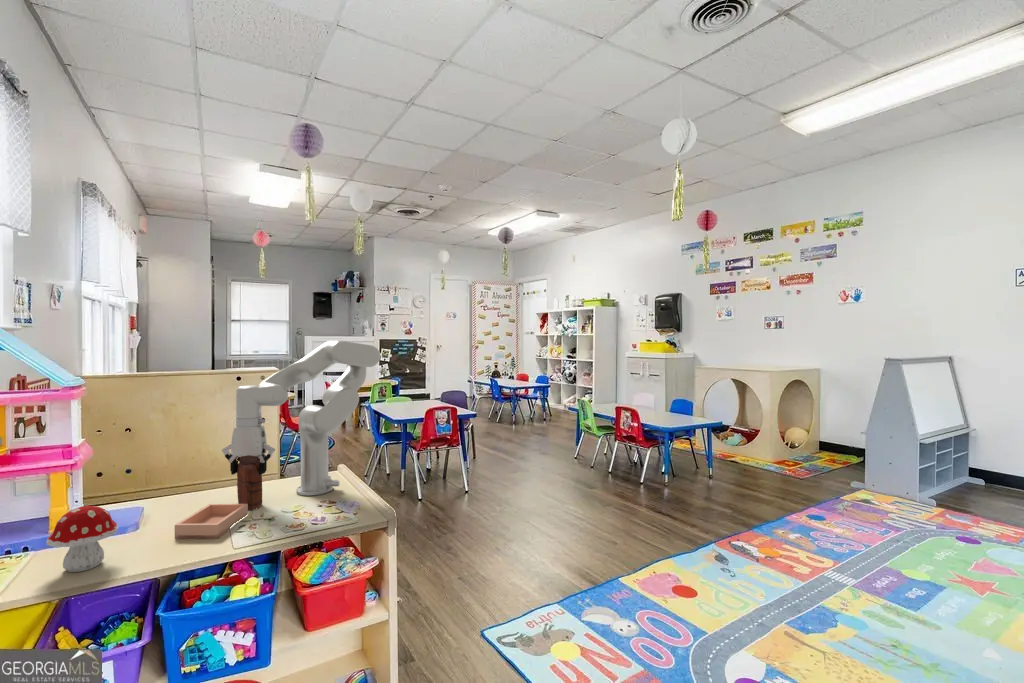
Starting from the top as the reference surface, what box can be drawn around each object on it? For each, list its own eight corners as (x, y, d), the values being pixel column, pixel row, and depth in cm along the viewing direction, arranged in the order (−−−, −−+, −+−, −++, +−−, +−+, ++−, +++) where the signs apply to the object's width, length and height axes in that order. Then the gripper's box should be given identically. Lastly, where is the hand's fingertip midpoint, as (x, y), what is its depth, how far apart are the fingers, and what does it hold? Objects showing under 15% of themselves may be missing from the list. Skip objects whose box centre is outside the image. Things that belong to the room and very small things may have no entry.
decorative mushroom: (60, 559, 127) (59, 501, 127) (126, 550, 133) (126, 494, 132) (34, 585, 114) (33, 521, 114) (109, 573, 120) (108, 512, 120)
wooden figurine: (267, 507, 165) (267, 454, 165) (246, 512, 160) (247, 457, 160) (253, 499, 173) (253, 448, 173) (233, 503, 168) (233, 451, 168)
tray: (247, 516, 157) (247, 503, 157) (217, 538, 140) (217, 524, 140) (209, 516, 157) (209, 503, 157) (174, 539, 140) (174, 525, 140)
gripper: (279, 420, 170) (279, 470, 170) (228, 420, 169) (228, 470, 170) (269, 424, 162) (269, 476, 163) (216, 424, 162) (215, 476, 162)
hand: (248, 473), depth 166 cm, fingers closed on wooden figurine, 8 cm apart
